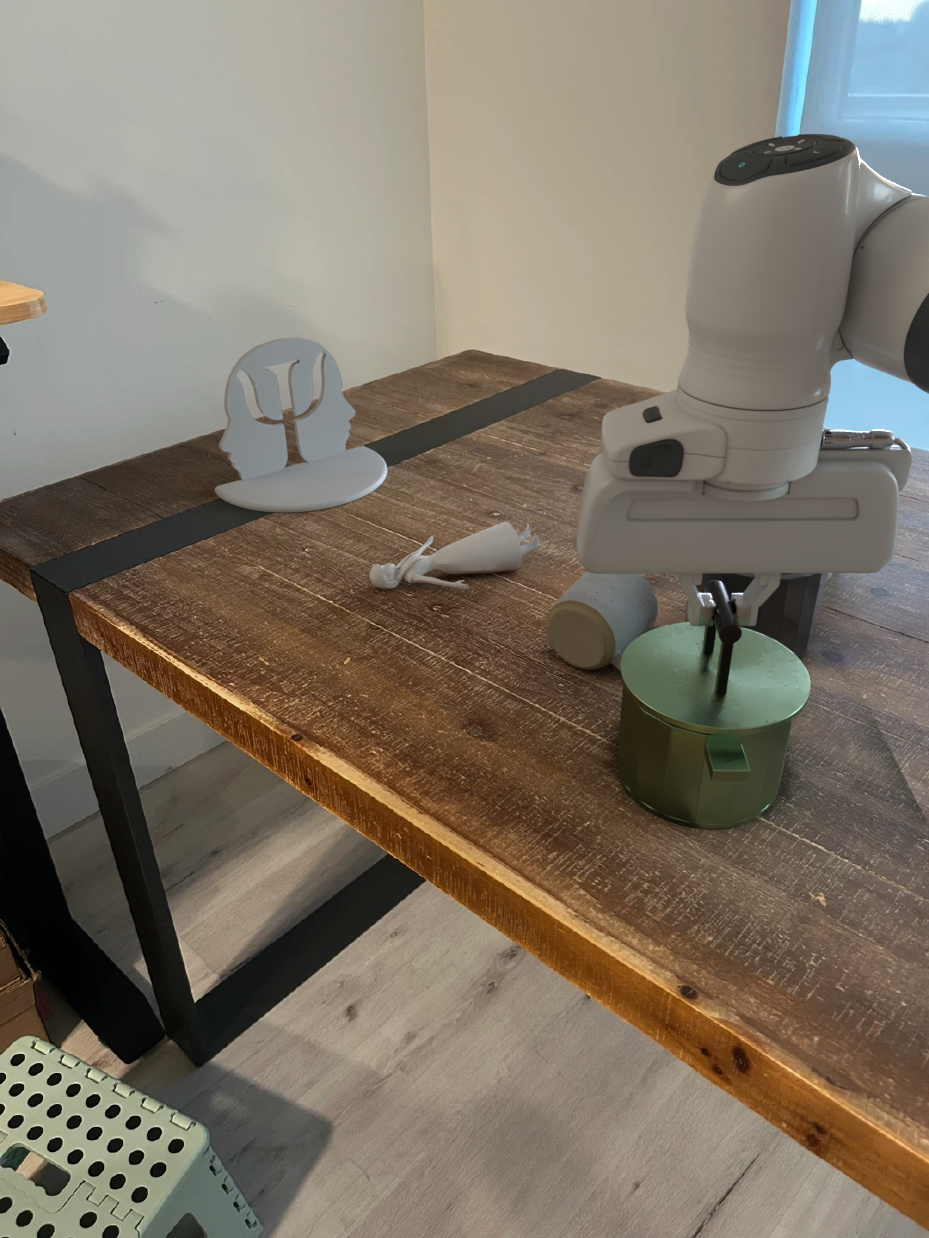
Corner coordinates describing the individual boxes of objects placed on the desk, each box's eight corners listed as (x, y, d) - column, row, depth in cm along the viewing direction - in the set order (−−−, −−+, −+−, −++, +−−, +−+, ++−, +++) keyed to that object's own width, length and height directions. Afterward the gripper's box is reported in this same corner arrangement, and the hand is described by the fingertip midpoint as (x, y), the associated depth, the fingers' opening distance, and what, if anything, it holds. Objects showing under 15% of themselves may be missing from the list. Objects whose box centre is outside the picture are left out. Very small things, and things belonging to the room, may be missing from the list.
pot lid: (783, 634, 76) (797, 555, 72) (830, 743, 64) (850, 656, 61) (611, 634, 76) (616, 555, 72) (629, 742, 65) (636, 655, 61)
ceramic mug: (538, 660, 88) (541, 586, 84) (582, 619, 93) (587, 548, 89) (645, 700, 83) (654, 624, 79) (685, 655, 88) (696, 582, 84)
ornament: (365, 448, 131) (356, 323, 122) (420, 480, 122) (414, 346, 113) (212, 491, 120) (189, 357, 111) (260, 529, 111) (240, 386, 102)
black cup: (795, 600, 96) (811, 517, 91) (828, 668, 86) (847, 579, 81) (676, 600, 96) (685, 517, 92) (695, 667, 87) (707, 579, 82)
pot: (752, 705, 82) (766, 619, 77) (805, 858, 67) (827, 763, 63) (607, 703, 82) (614, 618, 78) (629, 855, 68) (639, 761, 63)
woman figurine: (556, 543, 97) (382, 587, 93) (557, 582, 99) (387, 626, 95) (512, 497, 106) (352, 535, 102) (514, 533, 109) (358, 571, 105)
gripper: (901, 412, 62) (859, 598, 70) (578, 415, 63) (571, 598, 71) (937, 450, 57) (888, 647, 64) (585, 452, 58) (576, 647, 65)
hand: (720, 621), depth 67 cm, fingers closed on pot lid
